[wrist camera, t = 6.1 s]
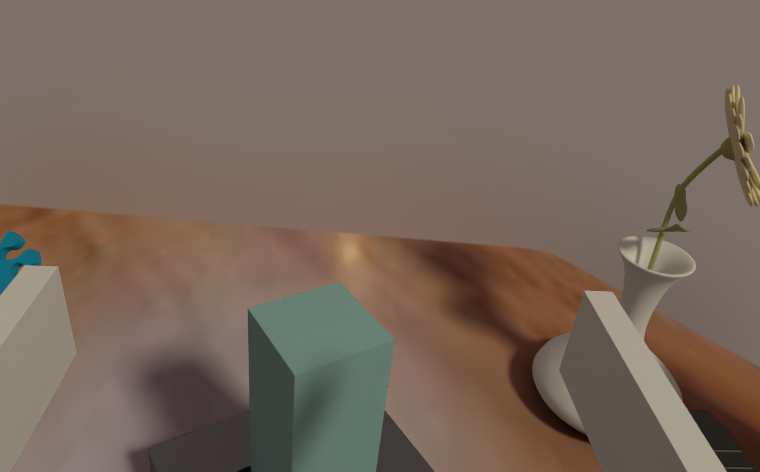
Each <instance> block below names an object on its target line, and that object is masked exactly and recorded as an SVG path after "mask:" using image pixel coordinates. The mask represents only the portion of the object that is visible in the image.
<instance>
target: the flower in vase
mask: <svg viewBox="0 0 760 472" xmlns="http://www.w3.org/2000/svg"><path fill="white" fill-rule="evenodd" d="M735 105H736V108H735ZM725 112H726V120H727V126H728V131H729V138H727V139H726V140H725V141H724V142H723V143H722V145H721V147H720V148H719V149H718V150H717V151H716V152H714V153H713V154H712V155H711V156H710V157H708V158H707V159H706V160H705V161H704V162H703V163H702V164H701V165H700V166H699V167H697V169H695V170H694V171H693V172H692V173H691V174H690V175H689V176H688V177H687V178H686V180H685V181H684V182H683V183H682V184H681V185H680V184H678V185H677V186H676V189H675V194H674V197H673V199H672V201H671V204H670V206H669V208H668V211H667V213H666V216H665V218H664V221H663V224H662V227H660V228H653V229H648V230H647V231H650V232H660V233H659V236H658V239H657V238H653V237H647V236H630V237H626V238H623V239H622V240H621V241H620V242H619V244H618V250H619V252H620V255H621V257H622V259H623V262H624V269H625V278H624V287H623V292H622V296H621V300H620V304H621V306H622V308H623V309H624V311H625V312H626V314H627V316H628V317H629V319H630V320H631V322H632V323H633V325H634V327H635V328H636V330H637V331H638V333H639V334H640V336H641V338H642V339H643V341H644V334H645V330H646V327H647V324H648V321H649V319H650V317H651V315H652V313H653V311H654V309H655V307H656V305H657V304H658V302H659V300H660V299H661V297H662V296H663V295H664V293H665V292H666V291H667V289H668V288H669V287H670V286H671V285H673V284H674V283H675V282H677V281H678V280H680V279H682V278H684V277H686V276H688V275H690V274H691V273H692V272H694V270H695V268H696V265H695V262H694V260H693V258H692V257H691V256H690V255H689V254H688V253H686V252H685V251H684V250H682V249H681V248H679V247H677V246H676V245H673V244H671V243H669V242H667V241H663V237H664V234H665V232H676V231H681V232H690V231H691V230H688V229H683V228H682V227H681V226H679V225H678V224H675V225H674V226H671V227H667V226H668V223H669V220H670V217H671V214H672V212H673V209H674V208H675V212H676V216H677V218H678V220H679V221H682V220H683V219H684V218H685V216H686V213H687V204H686V191H685V188H686V186H687V185H688V184H689V183H690V182H691V181H692V180H693V179H694V178H695V177H696V176H697V175H698V174H699V173H700V172H701V171H702V170H704V169H705V168H706V167H707V166H708V165H709V164H710V163H711V162H713V161H714V160H715V159H716V158H717V157H719V156H720V155H721V154H722V155H723V156H724V157H725V158H727V159H730V160H734V161H735V165H736V169H737V174H738V178H739V181H740V184H741V187H742V190H743V193H744V195H745V198H746V200H747V201H748V204H749V205H750V206H753V203H754V205H755V206H758V201H759V202H760V191H759V190H760V178H759V175H758V173H757V171H756V169H755V167H754V165H753V163H752V161H751V159H750V157H749V155H750V153H751V152H752V151H753V150H754V141H753V137H752V135H751V134H750V133H749V132H745V133H744V119H745V102H744V98H743V97H742V96H741V97H740V88H739V86H737V87H736V91H735V88H734V85H732V86H731V90H729V88H728V87H727V89H726V93H725ZM757 199H758V200H757ZM570 334H571V332H570V333H566V334H563V335H559V336H557V337H555V338H553V339H551V340H549V341H548V342H547V343H546V344H545V345H544V346H543V347H542V348H541V349H540V350H539V351H538V352H537V354H536V355H535V358H534V360H533V364H532V375H533V379H534V382H535V385H536V387H537V389H538V391H539V393H540V395H541V397H542V399H543V400H544V401H545V403H546V404H547V406H548V407H549V408H550V409H551V410H552V411H553V412H554V413H555V414H556V415H557V416H558V417H559V418H561V419H562V420H563V421H564V422H566V423H567V424H568V425H570V426H572V427H573V428H575V429H576V430H578V431H580V432H582V433H584V434H586V432H585V429H584V427H583V425H582V422H581V420H580V418H579V415H578V413H577V411H576V408H575V406H574V404H573V401H572V399H571V397H570V394H569V392H568V390H567V387H566V385H565V383H564V380H563V378H562V376H561V374H560V371H559V368H560V365H561V362H562V359H563V356H564V352H565V349H566V346H567V343H568V340H569V337H570ZM650 352H651V351H650ZM651 353H652V352H651ZM652 355H653V356H654V358H655V360H656V361H657V363H658V364H659V366H660V367H661V369H662V371H663V372H664V374H665V375H666V377H667V378H668V380H669V382H670V383H671V385H672V386H673V388H674V389H675V391H676V393H677V394H678V396H679V397H680V399H681V400H682V394H681V391H680V389H679V387H678V385H677V383H676V381H675V380H674V378H673V376H672V375H671V373H670V372H669V370H668V369H667V368H666V366H665V365H664V364H663V363H662V362H661V361H660V360H659V359H658V358H657V357H656V356H655V355H654V354H653V353H652ZM682 402H683V400H682ZM586 435H587V434H586Z"/></svg>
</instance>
